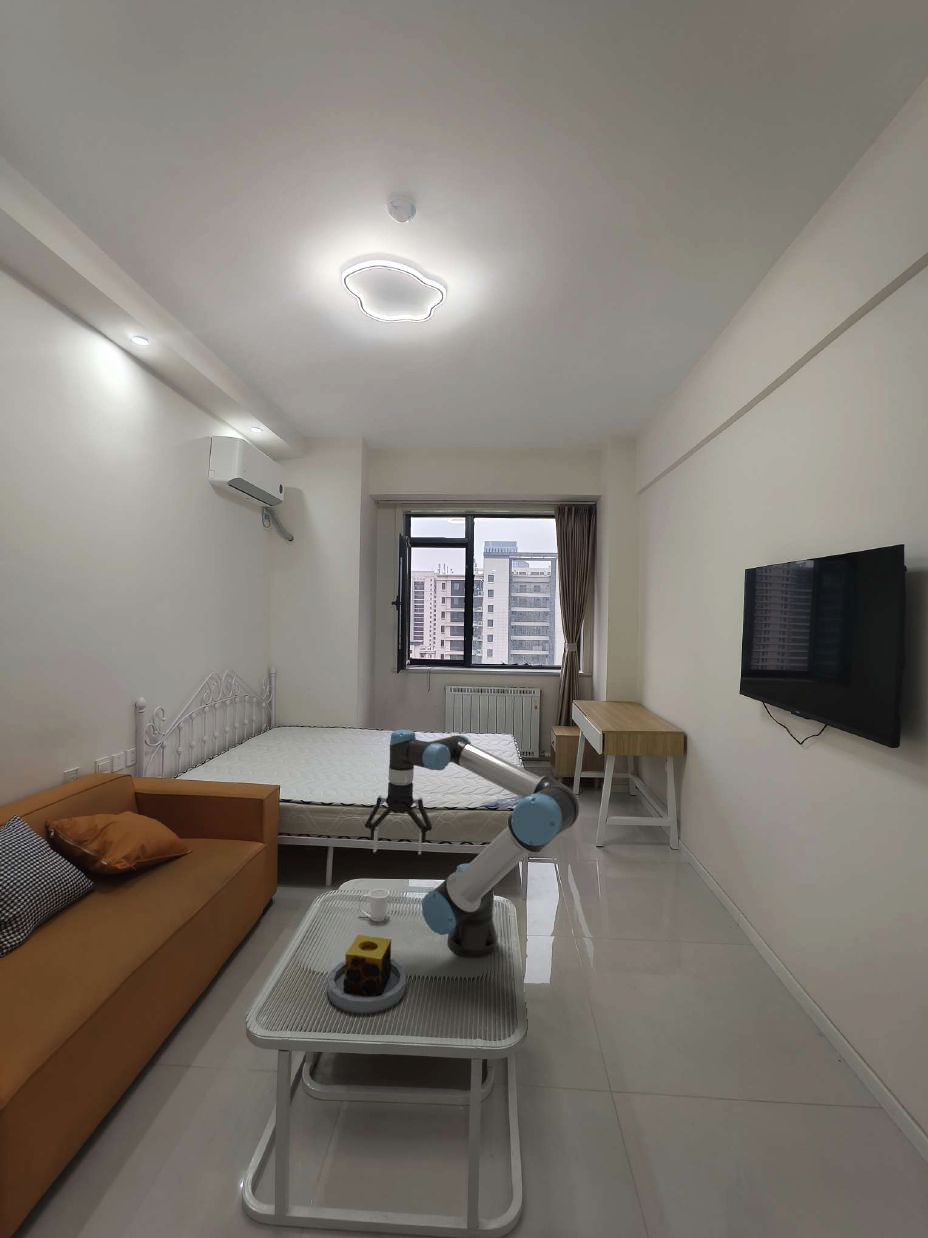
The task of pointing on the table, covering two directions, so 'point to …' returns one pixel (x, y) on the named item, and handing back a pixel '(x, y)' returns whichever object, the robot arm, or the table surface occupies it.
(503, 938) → the table surface
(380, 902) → the cup
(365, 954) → the candle
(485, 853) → the robot arm
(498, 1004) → the table surface
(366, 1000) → the dish
